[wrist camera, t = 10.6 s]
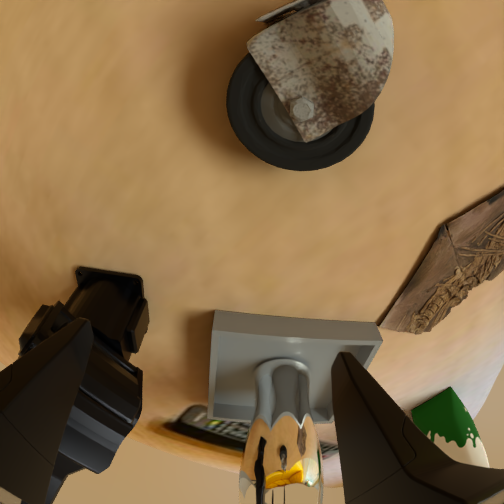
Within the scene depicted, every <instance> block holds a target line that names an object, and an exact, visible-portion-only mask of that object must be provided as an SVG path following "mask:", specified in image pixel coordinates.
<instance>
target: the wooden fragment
mask: <svg viewBox="0 0 504 504" xmlns="http://www.w3.org/2000/svg"><path fill="white" fill-rule="evenodd" d="M446 225H447V226H448V230H449V231H447V230H446V227H445V224H444V225H443V226H442V227H441V229H440V231H439V234H438V238H437V239H436V241H435V242H434V244H433V246H432V248H431V250H430V251H429V253H428V255H427V256H426V258H425V259H424V261H423V262H422V264H421V266H420V267H419V269H418V270H417V272H416V273H415V275H414V276H413V278H412V280H411V281H410V282H409V284H408V285H407V287H406V288H405V290H404V292H403V293H402V294H401V296H400V297H399V299H398V300H397V301H396V302H395V305H393V307H392V308H391V310H390V311H389V313H388V315H387V316H386V318H385V320H384V321H383V322H382V324H381V325H380V326H379V325H377V326H379V327H382V328H386V329H390V330H394V331H398V332H410V333H414V334H421V333H422V332H430V331H431V329H432V328H433V327H434V326H435V325H437V324H438V323H439V322H440V321H441V320H443V319H444V318H445V317H446V316H447V315H448V314H449V313H450V310H451V308H452V307H455V306H457V305H459V304H460V303H461V302H462V300H463V299H466V298H467V296H468V295H467V294H468V290H472V288H473V287H476V286H478V285H479V284H481V283H483V281H484V280H489V281H490V280H493V279H494V278H495V277H496V276H497V275H498V274H500V273H501V272H502V271H503V270H504V190H503V191H501V192H500V193H499V194H497V195H495V196H494V197H492V198H491V199H489V200H487V201H485V202H484V203H482V204H480V205H478V206H477V207H475V208H474V209H472V210H471V211H469V212H468V213H465V214H464V215H463V216H461V217H458V218H456V219H455V220H453V221H452V222H449V223H447V224H446Z"/></svg>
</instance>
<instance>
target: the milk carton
mask: <svg viewBox="0 0 504 504" xmlns="http://www.w3.org/2000/svg"><path fill="white" fill-rule="evenodd" d="M411 413H412V417H413V422H414V424H415V425H416V426H417V427H418V428H419V429H420V430H421V431H422V432H423V433H424V434H425V435H426V436H427V437H428V438H429V439H430V440H431V441H432V442H433V443H435V444H436V445H437V446H438V447H439V448H440V449H441V450H442V451H443V452H444V453H446V454H447V455H448V456H449V457H450V458H452V459H453V460H455V461H458V462H461V463H465V464H470V465H476V466H481V467H487V468H490V467H489V463H488V459H487V455H486V452H485V449H484V446H483V444H482V442H481V439H480V436H479V434H478V431H477V429H476V427H475V424H474V422H473V420H472V418H471V416H470V414H469V412H468V411H467V409H466V408H465V406H464V405H463V403H462V402H461V400H460V399H459V397H458V396H457V395H456V393H455V392H454V390H453V389H452V388H451V387H449V388H448V389H446V390H445V391H443V392H442V393H440V394H438V395H437V396H435V397H433V398H432V399H430V400H428V401H427V402H425V403H423V404H422V405H420V406H418V407H416V408H415V409H413V410H411Z"/></svg>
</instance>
